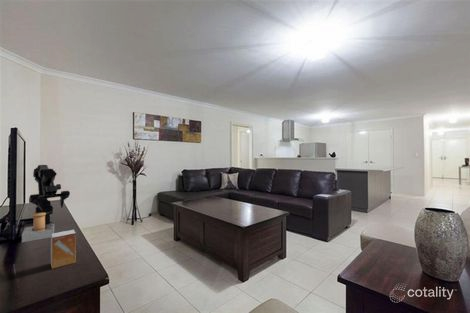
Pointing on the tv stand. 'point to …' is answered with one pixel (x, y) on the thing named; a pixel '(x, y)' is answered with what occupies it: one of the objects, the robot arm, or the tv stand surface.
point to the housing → (37, 233)
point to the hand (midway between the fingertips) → (52, 209)
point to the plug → (38, 221)
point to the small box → (63, 248)
